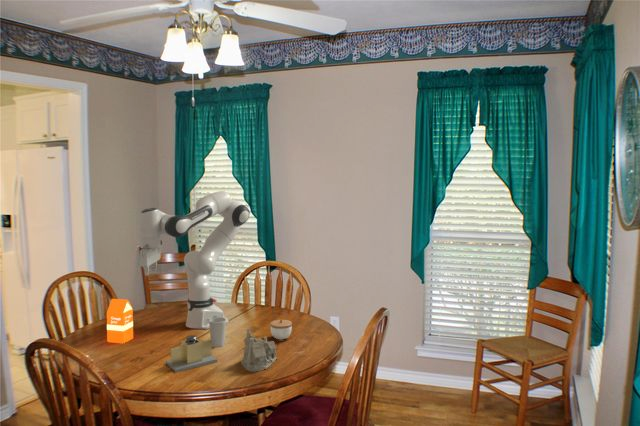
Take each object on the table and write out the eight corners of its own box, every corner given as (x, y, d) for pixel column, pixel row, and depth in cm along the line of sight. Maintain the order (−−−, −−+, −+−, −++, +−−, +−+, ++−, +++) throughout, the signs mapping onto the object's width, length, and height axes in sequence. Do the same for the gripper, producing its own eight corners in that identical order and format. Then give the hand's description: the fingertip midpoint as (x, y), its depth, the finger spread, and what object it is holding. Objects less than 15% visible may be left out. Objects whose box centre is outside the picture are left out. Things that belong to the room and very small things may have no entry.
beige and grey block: (208, 352, 202) (208, 335, 201) (214, 357, 197) (214, 339, 196) (168, 362, 191) (168, 343, 190) (174, 367, 186) (173, 348, 185)
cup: (211, 348, 210) (211, 323, 209) (207, 343, 217) (207, 318, 216) (228, 346, 213) (228, 321, 213) (223, 340, 220) (223, 316, 220)
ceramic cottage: (245, 372, 184) (247, 336, 184) (238, 359, 200) (240, 325, 199) (282, 370, 189) (284, 334, 189) (273, 357, 205) (275, 324, 205)
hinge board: (206, 353, 204) (206, 351, 204) (217, 361, 195) (217, 359, 195) (166, 363, 193) (166, 360, 193) (175, 372, 184) (175, 369, 184)
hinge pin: (194, 357, 196) (194, 334, 196) (198, 360, 193) (197, 337, 192) (185, 359, 194) (185, 336, 193) (189, 362, 191) (188, 339, 190)
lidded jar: (265, 339, 223) (265, 320, 222) (277, 333, 232) (277, 315, 232) (284, 343, 218) (284, 324, 217) (296, 336, 227) (296, 318, 227)
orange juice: (123, 343, 215) (122, 302, 213) (107, 342, 217) (106, 300, 215) (133, 338, 223) (132, 297, 221) (117, 336, 224) (116, 296, 223)
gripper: (149, 246, 200) (150, 277, 201) (163, 240, 221) (163, 268, 222) (135, 246, 200) (135, 277, 201) (150, 240, 220) (150, 268, 221)
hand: (150, 273), depth 211 cm, fingers open, 8 cm apart
